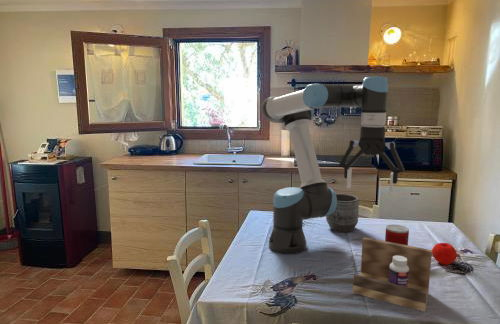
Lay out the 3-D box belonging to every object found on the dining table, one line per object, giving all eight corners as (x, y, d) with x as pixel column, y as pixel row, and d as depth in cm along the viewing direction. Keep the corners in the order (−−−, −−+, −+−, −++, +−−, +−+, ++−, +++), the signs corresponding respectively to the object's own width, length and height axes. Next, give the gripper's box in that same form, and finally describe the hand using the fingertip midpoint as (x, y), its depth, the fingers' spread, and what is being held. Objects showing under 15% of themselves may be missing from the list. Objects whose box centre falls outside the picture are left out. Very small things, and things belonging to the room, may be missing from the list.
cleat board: (352, 292, 108) (354, 249, 106) (361, 277, 118) (363, 237, 115) (424, 312, 98) (429, 264, 96) (428, 293, 108) (432, 250, 105)
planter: (324, 222, 171) (325, 192, 168) (355, 224, 169) (356, 193, 166) (326, 233, 157) (328, 201, 154) (360, 235, 155) (361, 202, 152)
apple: (435, 256, 134) (437, 237, 132) (458, 262, 128) (460, 243, 127) (427, 262, 128) (429, 243, 127) (451, 270, 122) (453, 250, 121)
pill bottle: (398, 295, 102) (401, 263, 100) (384, 286, 107) (385, 256, 105) (411, 290, 105) (413, 259, 103) (396, 282, 109) (398, 252, 108)
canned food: (408, 260, 130) (411, 232, 128) (386, 258, 131) (387, 230, 130) (404, 252, 137) (406, 225, 135) (382, 250, 139) (384, 223, 137)
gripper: (331, 125, 117) (329, 188, 120) (414, 128, 104) (408, 198, 108) (338, 124, 123) (335, 183, 126) (416, 126, 110) (411, 192, 114)
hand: (369, 190), depth 117 cm, fingers open, 13 cm apart
